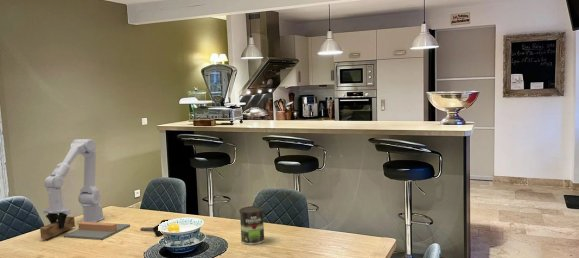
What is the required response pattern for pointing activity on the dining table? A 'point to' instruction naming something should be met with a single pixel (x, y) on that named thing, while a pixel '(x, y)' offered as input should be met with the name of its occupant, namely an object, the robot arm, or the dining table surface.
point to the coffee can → (252, 225)
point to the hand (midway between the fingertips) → (58, 228)
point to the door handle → (153, 229)
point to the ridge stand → (96, 230)
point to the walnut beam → (56, 228)
